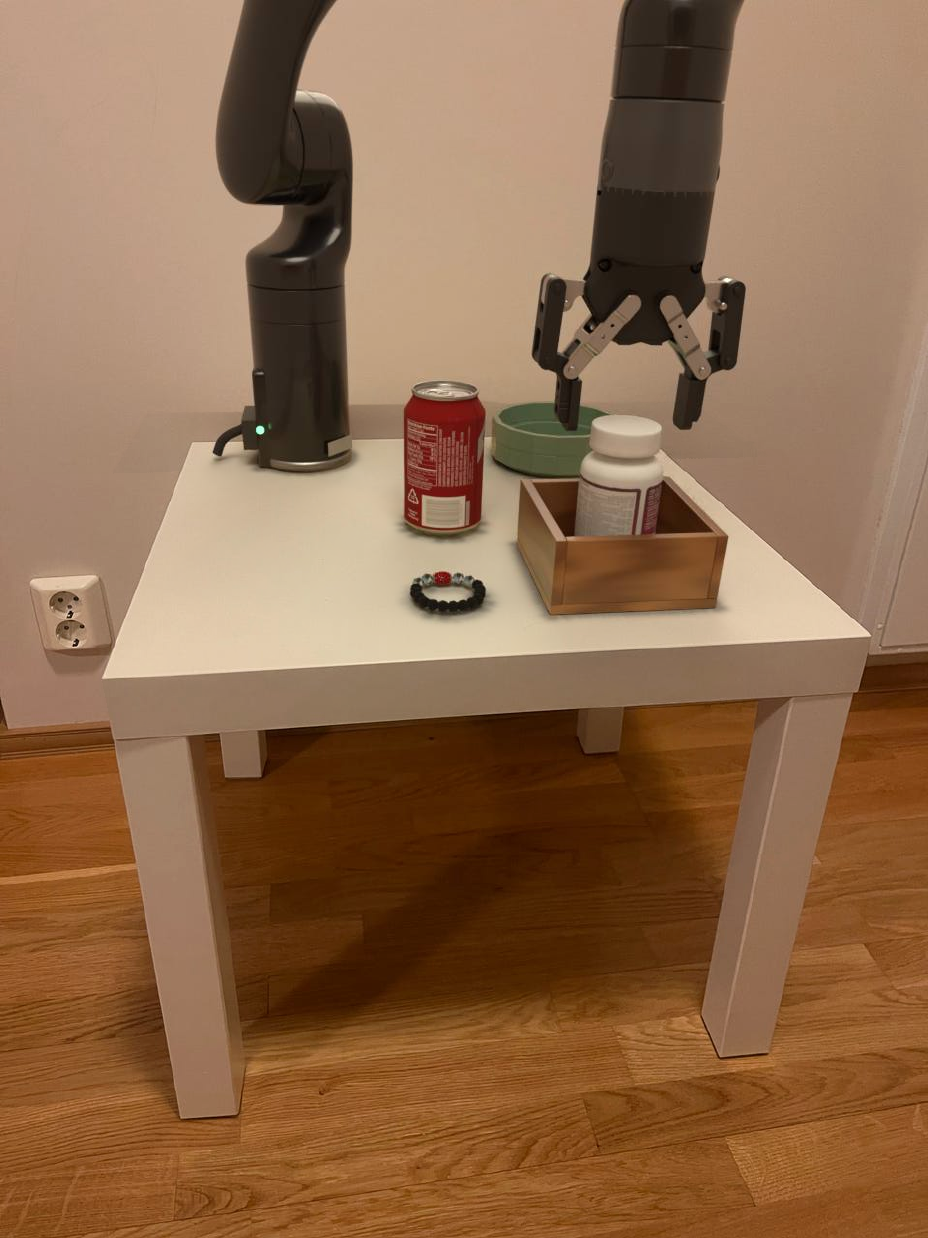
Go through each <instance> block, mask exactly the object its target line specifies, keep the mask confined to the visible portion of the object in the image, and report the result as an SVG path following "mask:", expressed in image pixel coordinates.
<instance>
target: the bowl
mask: <svg viewBox="0 0 928 1238" xmlns="http://www.w3.org/2000/svg"><path fill="white" fill-rule="evenodd" d="M554 403H555V400H549V401H547V400H546V401H544V400H543V401H542V400H540V401H538V400H537V401H536V400H535V401H526V402H518V403H511V404H508V405H505V406H502V407H500V408H498V409H497V410H495V412H494V413H493V414H492V418H491V442H490V443H491V444H490V452H491V454H492V456H493V458H494V460H495V461H498V462H499V463H501V464H503V465H505V466H506V467H508V468H509V469H512V470H514V471H517V472H520V473H523V474H526V475H531V476H536V477H543V478H551V479H569V478H580V469H581V464H582V461H583V459H584V458H585V456H586V455H587V454H589V453H590V452H592V451H594V450H593V449H592V448H591V447H590V446H589V441H590V434H591V424H592V421H593V420H594V419H596V418H598V417H601V416H607V415H616V414H615V413H613V412H610V411H608V410H606V409H603V408H600V407H596V406H591V405H587V404H583V403H580V409H579V419H578V428H577V431H566V430H565V429H564V427H563V426H562V424H561V423H560V422H559V421H558V419H557V418H556V416H555V413H554Z"/></svg>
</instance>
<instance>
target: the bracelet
mask: <svg viewBox="0 0 928 1238" xmlns="http://www.w3.org/2000/svg"><path fill="white" fill-rule="evenodd" d="M452 581H453V582H454V583H455V584H457V585H459V584H464V585H465V586H466V587H471V588H472V589H473V595H472V596H468V597H467V598H466V599H460V600H459V601H456V600H450V601H447V600H443V599H442V600H437V599H435V598H429V596H428V597H427V596H426V594H425V593H424V592H422V591H423V585H426V586H430V585H431V584H432V583H435V584H437V585H442V586H443V585H448V584H450V583H452ZM486 593H487V588H486V586H485V585H484V583H483V581H482V580H480V579H475V577H473V575H471V574H470V575H465V576H464V573H461V572H458V571H457V572H456V573H454V574H453V575H452V573H451V572H449V571H442V570H441V571H437V572H434V573H432V574H431V573H424V574H423V575H422V576H421V577H416V578H413V579H412V584H411V585H410V591H409V595H410V597H411V598H412V599H413V601H414V602H415V603H416V604H418V605H419V607H420V608H422V609H426V608H427V610H429V611H431V612H434V611H436V610H438V612H440V613H446V612H450V613H458V611H460V612H467V610H468V609H470V610H473V609H476V608H477V607H478V606H481V605H482V604H483V602H484V598H485V597H486Z"/></svg>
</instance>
